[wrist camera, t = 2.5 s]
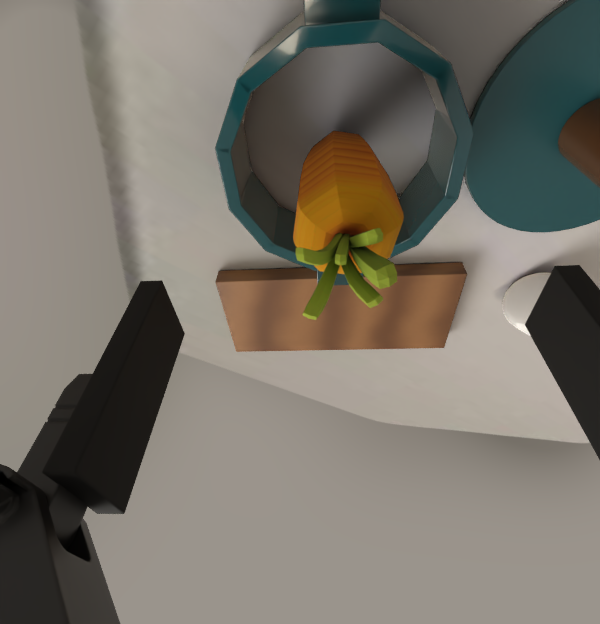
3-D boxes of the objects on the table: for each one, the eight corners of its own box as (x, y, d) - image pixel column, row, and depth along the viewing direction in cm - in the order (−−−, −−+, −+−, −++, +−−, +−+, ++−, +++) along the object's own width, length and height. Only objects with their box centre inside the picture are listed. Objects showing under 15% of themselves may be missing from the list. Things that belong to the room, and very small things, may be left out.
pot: (480, -52, 17) (520, -50, 14) (422, 246, 29) (436, 286, 26) (203, -25, 18) (177, -18, 15) (255, 252, 30) (247, 292, 27)
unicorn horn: (592, 399, 43) (615, 438, 40) (490, 290, 32) (510, 332, 29) (640, 382, 40) (669, 423, 37) (547, 258, 29) (577, 300, 26)
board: (462, 261, 30) (467, 273, 29) (440, 336, 36) (444, 348, 35) (218, 270, 31) (215, 282, 30) (238, 340, 38) (236, 351, 37)
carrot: (309, 186, 26) (304, 357, 15) (289, 111, 22) (263, 262, 12) (381, 168, 25) (430, 338, 14) (371, 86, 21) (425, 228, 11)
